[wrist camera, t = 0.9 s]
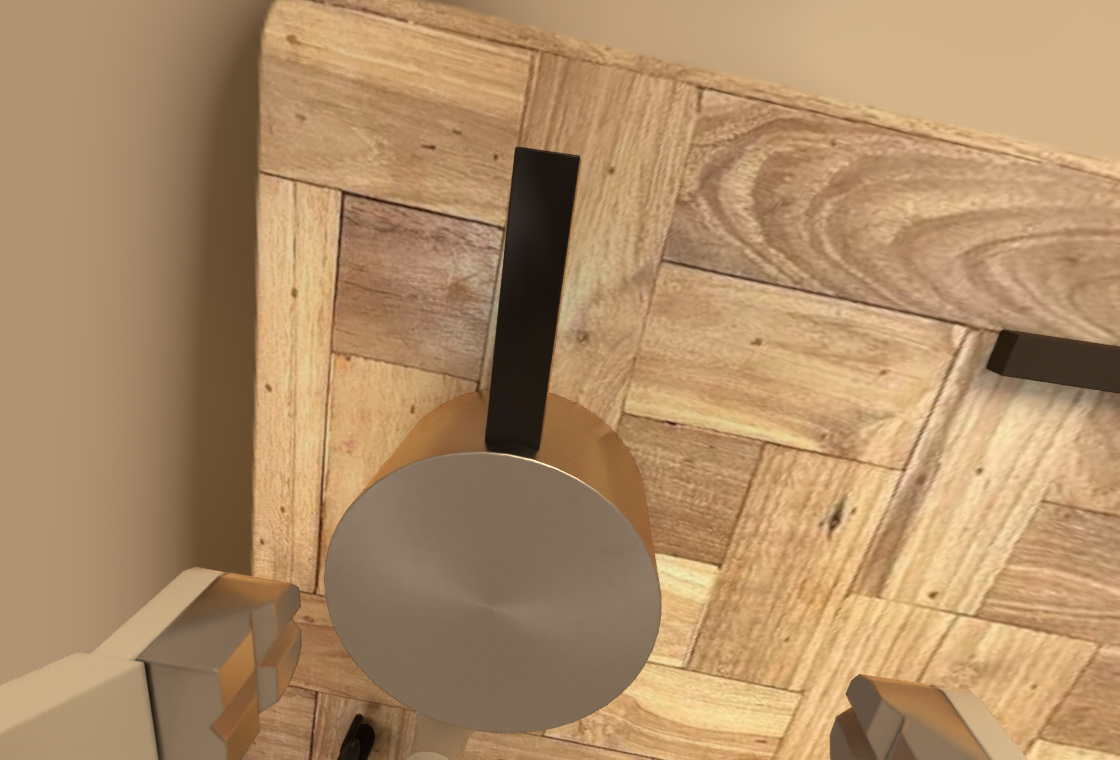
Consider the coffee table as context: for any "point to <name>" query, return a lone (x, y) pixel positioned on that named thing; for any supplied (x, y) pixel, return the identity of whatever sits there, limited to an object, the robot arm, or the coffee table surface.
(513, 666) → the saucepan
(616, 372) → the coffee table surface
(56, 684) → the robot arm
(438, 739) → the rook chess piece
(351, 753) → the wireless earbuds
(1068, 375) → the spatula
